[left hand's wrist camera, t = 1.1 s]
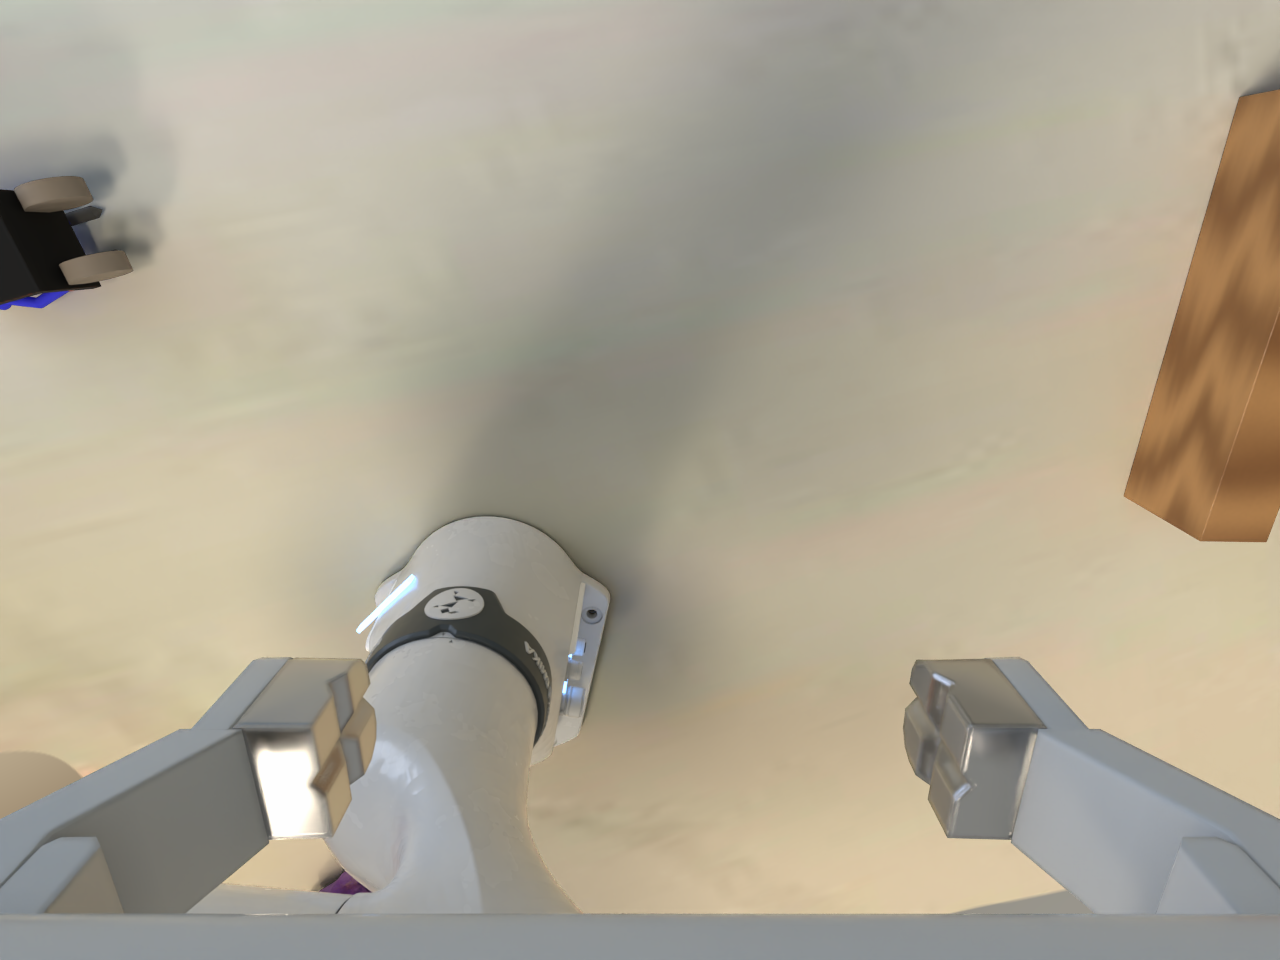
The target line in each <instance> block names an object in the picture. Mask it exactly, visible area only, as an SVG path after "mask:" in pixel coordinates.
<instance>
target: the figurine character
mask: <svg viewBox="0 0 1280 960" xmlns="http://www.w3.org/2000/svg"><path fill="white" fill-rule="evenodd" d="M92 201H93V198H92V195H91V193H90V191H89V189H88V187H87V185H86V183H85V181H84V179H83V178H81V177H76V176H62V177H52V178H45V179H40V180H35V181H31V182H27V183H24V184H22V185H19V186H17V187H16V188H15V189H14V191H13V190H0V309H1V310H7V309H9V308H10V307H11V305H17V306H26V307H34V308H43V307H45V306H47V305H48V304H50V303H51V302H53V301H55V300H56V299H58V298H59V297H61V296H63V295H64V294H66V293H67V292H69V291H74V290H84V289H94V288H97V287H100V286H101V285H100V283H99V281H102V280H107V279H111V278H115V277H118V276H122V275H125V274H128V273H130V272H132V271H133V268H132V266H131V264H130V262H129V260H128V258H127V256H126V254H125V252H124V251H118V250H113V251H108V252H101V253H96V254H91V255H85V253H84V251H83V249H82V247H81V245H80V243H79V241H78V239H77V237H76V235H75V233H74V231H73V229H72V227H71V226H74V225H77V224H80V223H83V222H87V221H90V220H93V219H96V218H99V217H100V214H101V212H102V209H98V208H95V207H92V206H88V207H85V208H82V209H79V210H76V211H72V212H69V213H66V214H65V213H64V211H63V210H68V209H72V208H76V207H80V206H83V205H86V204H88V203H90V202H92ZM40 293H43V294H41V295H40V296H38V297H37V298H35V297H30V296H33V295H36V294H40Z"/></svg>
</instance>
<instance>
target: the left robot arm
mask: <svg viewBox="0 0 1280 960" xmlns="http://www.w3.org/2000/svg"><path fill="white" fill-rule="evenodd" d="M375 603H376V606H377V609H376V610H375V611H374V612H373V613H372V614H371V615H370V616H369V617H368V618H367V619H365V620H364V621H363V622H362V623H361V624H360V626H359V627H358V629H357V630H356V631H357V632H358V633H360V632H361V631H362V630H363V629H364V628H365V627H366V626H368V625H369V624H370V623H371V622H372V621H373V620H374V619H375V618H376V617H377V616H378V617H377V619H376V621H375V623H374V625H373V627H372V629H371V631H370V633H369V635H368V638H367V640H366V650H367V651H369V652H370V654H369V656H368V658H367V660H366V662H363V661H362V660H361V659H338V658H291V657H274V658H259V659H256V660H253V661H252V662H251V663H250V664H249V665H248V666H247V668H246V669H245V670H244V671H243V672H242V673H241V674H240V675H239V676H238V678H237V679H236V680H235V681H234V682H233V683H232V684H231V685H230V686H229V688H228V689H227V690H226V691H225V692H224V693H223V694H222V695H221V696H220V698H219V699H218V700H217V701H216V702H215V703H214V704H213V705H212V706H211V708H210V709H209V710H208V711H207V712H206V713H205V714H204V715H203V716H202V718H201V719H200V720H199V721H198V722H197V723H196V724H195V725H194V726H193V728H192V729H179V730H177V731H175V732H173V733H171V734H169V735H167V736H165V737H163V738H161V739H159V740H157V741H155V742H153V743H151V744H149V745H147V746H145V747H143V748H141V749H139V750H137V751H135V752H133V753H131V754H129V755H127V756H125V757H123V758H121V759H119V760H117V761H115V762H113V763H111V764H109V765H107V766H105V767H103V768H101V769H99V770H97V771H95V772H93V773H91V774H89V775H87V776H85V777H83V778H81V779H79V780H78V781H75V782H73V783H72V784H69V785H67V786H66V787H63V788H61V789H59V790H57V791H56V792H54V793H51V794H49V795H47V796H46V797H43V798H42V799H40V800H37V801H35V802H33V803H31V804H30V805H28V806H25V807H23V808H21V809H20V810H18V811H16V812H13V813H12V814H10V815H8V816H6V817H4V818H2V819H0V960H1280V819H1278V818H1276V817H1274V816H1272V815H1270V814H1268V813H1266V812H1264V811H1262V810H1260V809H1258V808H1256V807H1254V806H1252V805H1250V804H1248V803H1246V802H1244V801H1242V800H1240V799H1238V798H1236V797H1234V796H1232V795H1230V794H1228V793H1226V792H1224V791H1222V790H1220V789H1218V788H1216V787H1214V786H1212V785H1210V784H1208V783H1206V782H1204V781H1202V780H1200V779H1198V778H1196V777H1194V776H1192V775H1190V774H1188V773H1186V772H1184V771H1182V770H1180V769H1178V768H1176V767H1174V766H1172V765H1170V764H1168V763H1166V762H1164V761H1162V760H1160V759H1159V758H1157V757H1155V756H1153V755H1151V754H1149V753H1147V752H1145V751H1143V750H1141V749H1139V748H1137V747H1135V746H1133V745H1131V744H1129V743H1127V742H1125V741H1123V740H1121V739H1119V738H1117V737H1115V736H1113V735H1111V734H1109V733H1107V732H1105V731H1103V730H1101V729H1088V728H1087V726H1086V725H1085V724H1084V723H1083V722H1082V721H1081V720H1080V719H1079V718H1078V716H1077V715H1076V714H1075V713H1074V712H1073V711H1072V710H1071V709H1070V708H1069V706H1068V705H1067V704H1066V703H1065V702H1064V701H1063V700H1062V699H1061V698H1060V696H1059V695H1058V694H1057V693H1056V692H1055V691H1054V690H1053V689H1052V688H1051V686H1050V685H1049V684H1048V683H1047V682H1046V681H1045V680H1044V679H1043V678H1042V676H1041V675H1040V674H1039V673H1038V672H1037V671H1036V670H1035V669H1034V668H1033V666H1032V665H1031V664H1030V663H1029V662H1028V661H1026V660H1024V659H1022V658H1020V657H1004V658H985V659H942V660H916V662H915V664H914V666H913V668H912V672H911V678H910V683H909V684H910V685H911V687H912V689H913V691H914V692H915V694H916V696H917V697H916V698H915V700H914V701H913V702H912V703H911V704H910V705H909V706H908V707H907V708H906V709H905V716H904V725H903V732H904V743H905V749H906V753H907V756H908V759H909V762H910V764H911V766H912V768H913V771H914V773H915V775H916V776H918V777H919V778H921V779H922V780H923V781H925V782H926V783H928V784H929V785H930V789H929V795H928V801H929V803H930V805H931V807H932V808H933V810H934V812H935V814H936V816H937V818H938V820H939V822H940V824H941V826H942V828H943V830H944V832H945V834H946V836H947V838H969V839H1004V840H1011V843H1012V844H1013V845H1014V846H1015V847H1017V848H1018V849H1019V850H1020V851H1021V852H1022V853H1024V854H1025V855H1026V856H1027V857H1028V858H1030V859H1031V860H1032V861H1033V862H1034V863H1036V864H1037V865H1038V866H1039V867H1040V868H1041V869H1043V870H1044V871H1045V872H1046V873H1047V874H1049V875H1050V876H1051V877H1052V878H1053V879H1055V880H1056V881H1057V882H1058V883H1059V884H1060V885H1062V886H1063V887H1064V888H1065V889H1066V890H1068V891H1069V892H1070V893H1071V894H1072V895H1074V896H1075V897H1076V898H1077V899H1078V900H1079V901H1081V902H1082V903H1083V904H1084V905H1085V906H1087V907H1088V908H1089V909H1090V910H1091V911H1092V912H1094V913H1095V914H584V913H583V912H582V911H581V910H580V909H579V908H578V907H577V906H576V905H575V904H574V903H573V902H572V900H571V899H570V898H569V897H568V896H567V895H566V894H565V892H564V891H563V890H562V889H561V887H560V886H559V885H558V883H557V882H556V881H555V880H554V878H553V876H552V875H551V873H550V872H549V870H548V869H547V867H546V866H545V864H544V862H543V860H542V858H541V856H540V854H539V852H538V851H537V848H536V846H535V843H534V841H533V838H532V835H531V832H530V828H529V825H528V819H527V792H528V780H529V771H530V766H532V765H535V764H538V763H540V762H542V761H544V760H545V759H547V758H548V757H549V756H550V755H551V754H552V751H553V747H555V746H558V745H561V744H563V743H566V742H568V741H570V740H572V739H574V738H575V737H577V736H578V734H579V732H580V729H581V725H582V722H583V717H584V713H585V709H586V704H587V700H588V696H589V691H590V687H591V682H592V678H593V674H594V669H595V665H596V660H597V656H598V652H599V647H600V643H601V638H602V634H603V630H604V625H605V621H606V616H607V612H608V608H609V603H610V593H609V591H608V590H607V589H606V588H605V587H604V586H603V585H602V584H601V583H599V582H598V581H596V580H594V579H593V578H591V577H589V576H588V575H586V574H584V573H582V572H581V571H580V570H579V569H578V568H577V567H576V566H575V564H574V563H573V562H572V560H571V559H570V558H569V557H568V555H567V554H566V553H565V551H564V550H563V549H562V548H561V547H560V546H559V545H558V544H557V543H556V542H555V541H554V540H552V539H551V538H550V537H548V536H547V535H546V534H544V533H543V532H541V531H539V530H538V529H536V528H534V527H532V526H530V525H527V524H525V523H522V522H519V521H516V520H512V519H508V518H503V517H493V516H480V517H471V518H466V519H461V520H458V521H455V522H452V523H450V524H447V525H445V526H443V527H442V528H440V529H438V530H437V531H435V532H434V533H432V534H431V535H430V536H429V537H427V538H426V539H425V540H424V541H423V542H422V543H421V545H420V546H419V547H418V548H417V550H416V551H415V553H414V554H413V556H412V557H411V559H410V561H409V562H408V564H407V565H406V566H405V567H404V568H403V569H402V570H401V571H399V572H397V573H396V574H394V575H392V576H391V577H389V578H388V579H386V580H385V581H384V582H383V583H381V585H380V586H379V587H378V590H377V592H376V594H375ZM591 609H592V610H595V611H596V613H595V614H591V613H589V612H588V610H591ZM310 838H323V840H324V842H325V843H326V845H327V846H328V848H329V850H330V852H331V853H332V855H333V856H334V857H335V859H336V860H337V861H338V863H339V864H340V865H341V867H342V868H343V869H344V870H345V871H346V872H347V873H348V874H349V875H350V876H351V877H353V878H354V879H355V880H356V881H358V882H359V883H360V884H362V885H363V886H364V887H365V888H367V889H368V890H370V891H371V893H356V894H354V895H350V894H339V893H328V892H317V891H306V890H295V889H284V888H273V887H262V886H251V885H240V884H229V883H222V882H223V881H225V880H226V879H227V878H228V877H229V876H231V875H232V874H233V873H234V872H235V871H236V870H238V869H239V868H240V867H241V866H242V865H244V864H245V863H246V862H247V861H248V860H250V859H251V858H252V857H253V856H254V855H255V854H257V853H258V852H259V851H260V850H261V849H263V848H264V847H265V846H266V845H267V844H269V840H276V839H310Z"/></svg>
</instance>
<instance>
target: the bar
mask: <svg viewBox="0 0 1280 960" xmlns="http://www.w3.org/2000/svg"><path fill="white" fill-rule="evenodd" d="M1124 497H1126V498H1128V499H1129V500H1131V501H1133V502H1134V503H1136V504H1138V505H1140V506H1141V507H1143V508H1145V509H1146V510H1148V511H1150V512H1151V513H1153V514H1155V515H1157V516H1158V517H1160V518H1162V519H1163V520H1165V521H1167V522H1168V523H1170V524H1172V525H1174V526H1175V527H1177V528H1179V529H1180V530H1182V531H1184V532H1185V533H1187V534H1189V535H1191V536H1192V537H1194V538H1196V539H1197V540H1199V541H1224V542H1267V539H1268V537H1269V534H1270V531H1271V529H1272V526H1273V524H1274V521H1275V518H1276V516H1277V513H1278V510H1279V508H1280V89H1279V90H1274V91H1269V92H1263V93H1258V94H1253V95H1248V96H1242V97H1240V98H1239V101H1238V104H1237V108H1236V111H1235V114H1234V118H1233V121H1232V125H1231V128H1230V132H1229V135H1228V139H1227V142H1226V145H1225V149H1224V152H1223V156H1222V159H1221V163H1220V166H1219V170H1218V173H1217V176H1216V180H1215V183H1214V187H1213V190H1212V194H1211V197H1210V201H1209V204H1208V207H1207V211H1206V214H1205V218H1204V221H1203V225H1202V228H1201V232H1200V235H1199V238H1198V242H1197V245H1196V249H1195V252H1194V256H1193V259H1192V263H1191V266H1190V269H1189V273H1188V276H1187V280H1186V283H1185V287H1184V290H1183V294H1182V297H1181V301H1180V304H1179V307H1178V311H1177V314H1176V318H1175V321H1174V325H1173V328H1172V332H1171V335H1170V338H1169V342H1168V345H1167V349H1166V352H1165V356H1164V359H1163V363H1162V366H1161V369H1160V373H1159V376H1158V380H1157V383H1156V387H1155V390H1154V394H1153V397H1152V400H1151V404H1150V407H1149V411H1148V414H1147V418H1146V421H1145V425H1144V428H1143V431H1142V435H1141V438H1140V442H1139V445H1138V449H1137V452H1136V456H1135V459H1134V462H1133V466H1132V469H1131V473H1130V476H1129V480H1128V483H1127V487H1126V490H1125V493H1124Z"/></svg>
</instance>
